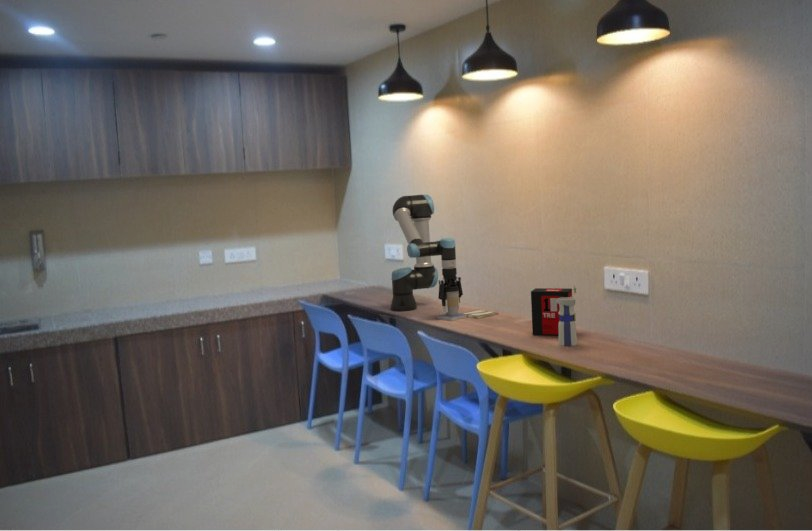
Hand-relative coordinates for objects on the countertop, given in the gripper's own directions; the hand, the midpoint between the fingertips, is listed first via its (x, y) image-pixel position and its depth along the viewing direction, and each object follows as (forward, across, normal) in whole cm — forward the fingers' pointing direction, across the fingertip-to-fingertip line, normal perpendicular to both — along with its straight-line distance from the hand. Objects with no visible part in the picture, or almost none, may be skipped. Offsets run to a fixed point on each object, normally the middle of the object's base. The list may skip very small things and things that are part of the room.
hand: (451, 310), depth 362 cm
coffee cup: (+2, 0, 0) cm, 2 cm away
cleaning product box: (+4, +1, -66) cm, 66 cm away
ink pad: (+4, 0, 0) cm, 4 cm away
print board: (+4, +14, -6) cm, 15 cm away
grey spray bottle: (+4, -11, -83) cm, 84 cm away
